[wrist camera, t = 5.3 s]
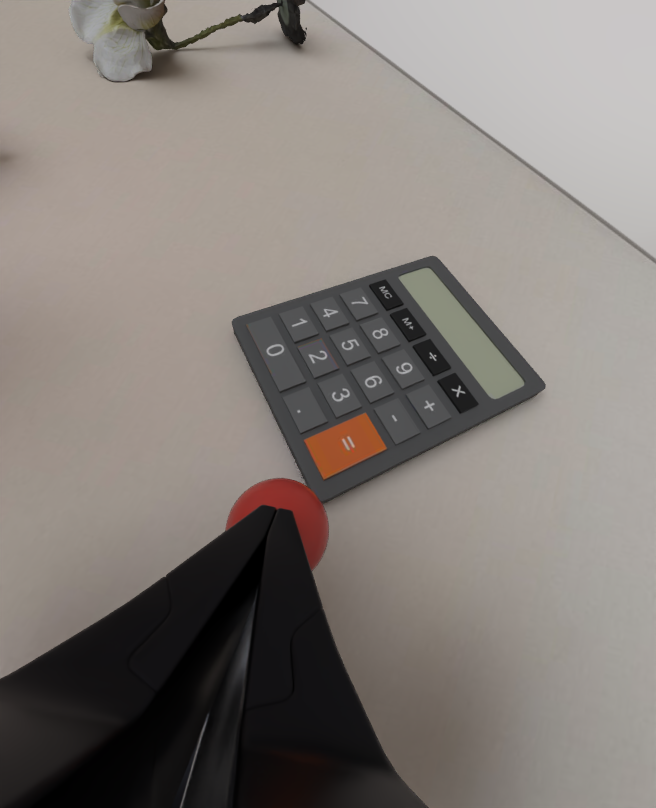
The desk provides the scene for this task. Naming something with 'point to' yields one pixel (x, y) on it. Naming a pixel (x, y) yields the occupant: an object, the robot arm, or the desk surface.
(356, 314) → the calculator
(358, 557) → the desk surface
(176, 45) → the artificial flower
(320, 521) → the lever
